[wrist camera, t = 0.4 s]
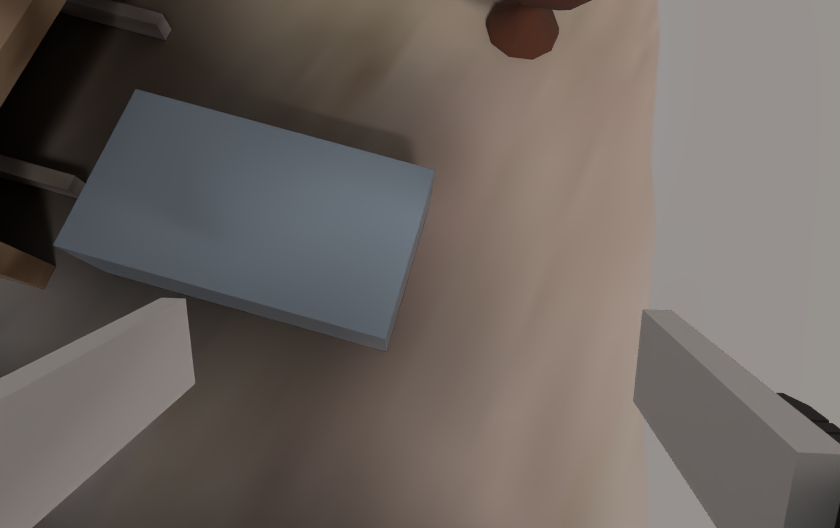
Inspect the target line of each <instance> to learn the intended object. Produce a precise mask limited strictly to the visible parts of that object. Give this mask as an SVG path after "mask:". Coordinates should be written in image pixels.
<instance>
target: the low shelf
mask: <svg viewBox="0 0 840 528" xmlns="http://www.w3.org/2000/svg"><path fill="white" fill-rule="evenodd" d="M59 12H61V13H65V14H69V15H72V16H76V17H80V18H84V19H87V20H91V21H95V22H99V23H102V24H106V25H110V26H114V27H117V28H121V29H125V30H129V31H132V32H136V33H140V34H144V35H147V36H151V37H155V38H158V39H162V40H166V39H167V37H168V35H169V33H170V31H171V28H170V26H169V24H168V23H167V21H166V19H165V17H164V16H163V14H162V13H158V12H154V11H151V10H147V9H143V8H139V7H136V6H132V5H128V4H124V3H120V2H117V1H113V0H0V107H1V105H2V104H3V102H4V100H5V99H6V97H7V96H8V94H9V92H10V91H11V89H12V88H13V86H14V84H15V83H16V81H17V79H18V78H19V76H20V75H21V73H22V71H23V70H24V68H25V67H26V65H27V63H28V62H29V60H30V58H31V57H32V55H33V54H34V52H35V50H36V49H37V47H38V46H39V44H40V42H41V41H42V39H43V37H44V36H45V34H46V33H47V31H48V29H49V28H50V26H51V25H52V23H53V21H54V20H55V18H56V16H57V15H58V13H59ZM0 177H2V178H5V179H9V180H12V181H16V182H20V183H23V184H27V185H30V186H34V187H37V188H41V189H45V190H48V191H52V192H55V193H59V194H62V195H66V196H70V197H73V198H77V199H78V197H79V195H80V193H81V191H82V189H83V188H84V186H85V183H84V182H83V181H81V180H80V179H79V178H77V177H76V176H75V175H71V174H67V173H64V172H60V171H57V170H53V169H49V168H46V167H42V166H39V165H35V164H31V163H28V162H24V161H21V160H17V159H13V158H10V157H6V156H3V155H0ZM54 269H55V266H53V265H51V264H49V263H47V262H44V261H42V260H40V259H38V258H36V257H33V256H31V255H29V254H27V253H24V252H22V251H20V250H18V249H16V248H13V247H11V246H9V245H7V244H4V243H2V242H0V277H2V278H6V279H9V280H13V281H16V282H20V283H23V284H27V285H30V286H34V287H37V288H41V289H44V288H45V286H46V284H47V282H48V280H49V278H50V276H51V274H52V272H53V270H54Z"/></svg>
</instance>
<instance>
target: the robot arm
mask: <svg viewBox="0 0 840 528" xmlns="http://www.w3.org/2000/svg"><path fill="white" fill-rule="evenodd" d="M194 384H195V377H194V368H193V359H192V350H191V342H190V333H189V324H188V315H187V307H186V298H160V299H158V300H156V301H154V302H152V303H150V304H148V305H146V306H144V307H142V308H140V309H138V310H136V311H134V312H132V313H130V314H128V315H126V316H124V317H122V318H120V319H118V320H116V321H114V322H112V323H110V324H108V325H106V326H104V327H102V328H100V329H98V330H96V331H94V332H92V333H90V334H88V335H86V336H84V337H82V338H80V339H78V340H76V341H74V342H72V343H70V344H68V345H66V346H64V347H62V348H60V349H58V350H56V351H54V352H52V353H50V354H48V355H46V356H44V357H42V358H40V359H38V360H36V361H34V362H32V363H30V364H28V365H26V366H24V367H22V368H20V369H18V370H16V371H14V372H12V373H10V374H8V375H6V376H4V377H2V378H0V528H32V527H34V526H35V525H36V524H37V523H38V522H39V521H40V520H41V519H43V518H44V517H45V516H46V515H47V514H48V513H49V512H51V511H52V510H53V509H54V508H55V507H56V506H57V505H58V504H60V503H61V502H62V501H63V500H64V499H65V498H66V497H68V496H69V495H70V494H71V493H72V492H73V491H74V490H75V489H77V488H78V487H79V486H80V485H81V484H82V483H83V482H85V481H86V480H87V479H88V478H89V477H90V476H91V475H92V474H94V473H95V472H96V471H97V470H98V469H99V468H100V467H102V466H103V465H104V464H105V463H106V462H107V461H108V460H109V459H111V458H112V457H113V456H114V455H115V454H116V453H117V452H119V451H120V450H121V449H122V448H123V447H124V446H125V445H126V444H128V443H129V442H130V441H131V440H132V439H133V438H134V437H136V436H137V435H138V434H139V433H140V432H141V431H142V430H143V429H145V428H146V427H147V426H148V425H149V424H150V423H151V422H153V421H154V420H155V419H156V418H157V417H158V416H159V415H160V414H162V413H163V412H164V411H165V410H166V409H167V408H168V407H170V406H171V405H172V404H173V403H174V402H175V401H176V400H177V399H179V398H180V397H181V396H182V395H183V394H184V393H185V392H186V391H188V390H189V389H190V388H191V387H192V386H193V385H194ZM633 401H634V403H635V404H636V406H637V407H638V409H639V410H640V412H641V413H642V415H643V417H644V418H645V420H646V421H647V423H648V424H649V426H650V427H651V429H652V430H653V432H654V433H655V435H656V436H657V438H658V439H659V441H660V442H661V444H662V445H663V447H664V448H665V450H666V451H667V453H668V454H669V456H670V457H671V459H672V461H673V462H674V464H675V465H676V467H677V468H678V470H679V471H680V473H681V474H682V476H683V477H684V479H685V480H686V482H687V483H688V485H689V486H690V488H691V489H692V491H693V492H694V494H695V495H696V497H697V498H698V500H699V501H700V503H701V504H702V506H703V507H704V509H705V511H706V512H707V514H708V515H709V517H710V518H711V520H712V521H713V523H714V524H715V526H716V527H717V528H840V429H839V428H838V427H837V426H836V425H834V424H833V423H829V420H827V419H826V418H825V417H824V416H822V415H821V414H819V413H818V412H817V411H816V410H814V409H813V408H812V407H810V406H808V405H807V404H805V403H802V402H800V401H798V400H796V399H794V398H792V397H790V396H788V395H786V394H784V393H775V392H774V391H773V390H771V389H770V388H769V387H768V386H766V385H765V384H764V383H763V382H761V381H760V380H759V379H758V378H756V377H755V376H754V375H752V374H751V373H750V372H749V371H747V370H746V369H745V368H744V367H742V366H741V365H740V364H739V363H737V362H736V361H735V360H734V359H732V358H731V357H730V356H729V355H727V354H726V353H725V352H724V351H722V350H721V349H720V348H718V347H717V346H716V345H715V344H714V343H712V342H711V341H710V340H709V339H707V338H706V337H705V336H704V335H702V334H701V333H700V332H698V331H697V330H696V329H695V328H693V327H692V326H691V325H690V324H688V323H687V322H686V321H685V320H683V319H682V318H681V317H679V316H678V315H677V314H676V313H675V312H673V311H672V310H648V309H643V311H642V320H641V330H640V340H639V349H638V359H637V369H636V378H635V388H634V398H633Z"/></svg>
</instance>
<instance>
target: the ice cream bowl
mask: <svg viewBox="0 0 840 528" xmlns="http://www.w3.org/2000/svg"><path fill="white" fill-rule="evenodd" d="M589 1H591V0H504V1H502V2H500V3H498V4H497V5H496V6H495V7H494V9H493V11H492V13H491V15H490V17H489V19H488V21H487V23H486V27H487V30H488V34H489V37H490V40H491V43H492V44H493V45H494V46H496V47H497V48H498V49H500V50H501V51H502V52H504V53H505V54H506V55H508V56H509V57H516V58H524V59H534V58H536V57H539V56H541V55H543V54H545V53H547V52H549V51H551V50H552V48H553V45H554V43H555V41H556V39H557V36H558V34H559V27H558V24H557V21H556V19H555V16H554V13H553V11H552V10H571V9H573V8H576V7H578V6H580V5H582V4H584V3H586V2H589ZM551 9H552V10H551Z"/></svg>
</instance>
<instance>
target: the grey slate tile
mask: <svg viewBox="0 0 840 528" xmlns="http://www.w3.org/2000/svg"><path fill="white" fill-rule="evenodd" d="M434 175H435V170H433V169H430V168H426V167H422V166H419V165H415V164H411V163H407V162H404V161H400V160H396V159H393V158H389V157H385V156H382V155H378V154H374V153H371V152H367V151H363V150H360V149H356V148H352V147H348V146H345V145H341V144H337V143H334V142H330V141H326V140H323V139H319V138H315V137H312V136H308V135H304V134H301V133H297V132H293V131H289V130H286V129H282V128H278V127H275V126H271V125H267V124H264V123H260V122H256V121H253V120H249V119H245V118H241V117H238V116H234V115H230V114H227V113H223V112H219V111H216V110H212V109H208V108H205V107H201V106H197V105H194V104H190V103H186V102H182V101H179V100H175V99H171V98H168V97H164V96H160V95H157V94H153V93H149V92H146V91H142V90H138V89H135V91H134V93H133V95H132V97H131V99H130V101H129V103H128V104H127V106H126V108H125V110H124V112H123V114H122V116H121V118H120V120H119V121H118V123H117V125H116V127H115V129H114V131H113V133H112V135H111V137H110V138H109V140H108V142H107V144H106V146H105V148H104V150H103V152H102V154H101V155H100V157H99V159H98V161H97V163H96V165H95V167H94V169H93V171H92V172H91V174H90V176H89V178H88V180H87V182H86V184H85V186H84V188H83V189H82V191H81V193H80V195H79V197H78V199H77V201H76V203H75V205H74V206H73V208H72V210H71V212H70V214H69V216H68V218H67V220H66V222H65V223H64V225H63V227H62V229H61V231H60V233H59V235H58V237H57V239H56V240H55V242H54V244H53V246H55V247H57V248H59V249H61V250H63V251H65V252H67V253H69V254H71V255H73V256H75V257H77V258H79V259H81V260H83V261H85V262H86V263H88V264H90V265H92V266H94V267H96V268H98V269H100V270H102V271H104V272H107V273H110V274H114V275H117V276H121V277H124V278H128V279H131V280H135V281H139V282H142V283H146V284H149V285H153V286H156V287H160V288H163V289H167V290H170V291H174V292H177V293H181V294H184V295H188V296H191V297H195V298H198V299H202V300H206V301H209V302H213V303H216V304H220V305H223V306H227V307H230V308H234V309H237V310H241V311H244V312H248V313H251V314H255V315H258V316H262V317H266V318H269V319H273V320H276V321H280V322H283V323H287V324H290V325H294V326H297V327H301V328H304V329H308V330H311V331H315V332H318V333H322V334H325V335H329V336H333V337H336V338H340V339H343V340H347V341H350V342H354V343H357V344H361V345H364V346H368V347H371V348H375V349H378V350H382V351H385V352H387V348H388V345H389V342H390V338H391V335H392V331H393V328H394V325H395V321H396V318H397V314H398V311H399V307H400V304H401V301H402V297H403V294H404V290H405V287H406V283H407V280H408V277H409V273H410V270H411V266H412V263H413V260H414V256H415V253H416V249H417V246H418V242H419V239H420V236H421V232H422V229H423V225H424V222H425V219H426V215H427V212H428V208H429V204H430V198H431V193H432V187H433V181H434Z"/></svg>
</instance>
